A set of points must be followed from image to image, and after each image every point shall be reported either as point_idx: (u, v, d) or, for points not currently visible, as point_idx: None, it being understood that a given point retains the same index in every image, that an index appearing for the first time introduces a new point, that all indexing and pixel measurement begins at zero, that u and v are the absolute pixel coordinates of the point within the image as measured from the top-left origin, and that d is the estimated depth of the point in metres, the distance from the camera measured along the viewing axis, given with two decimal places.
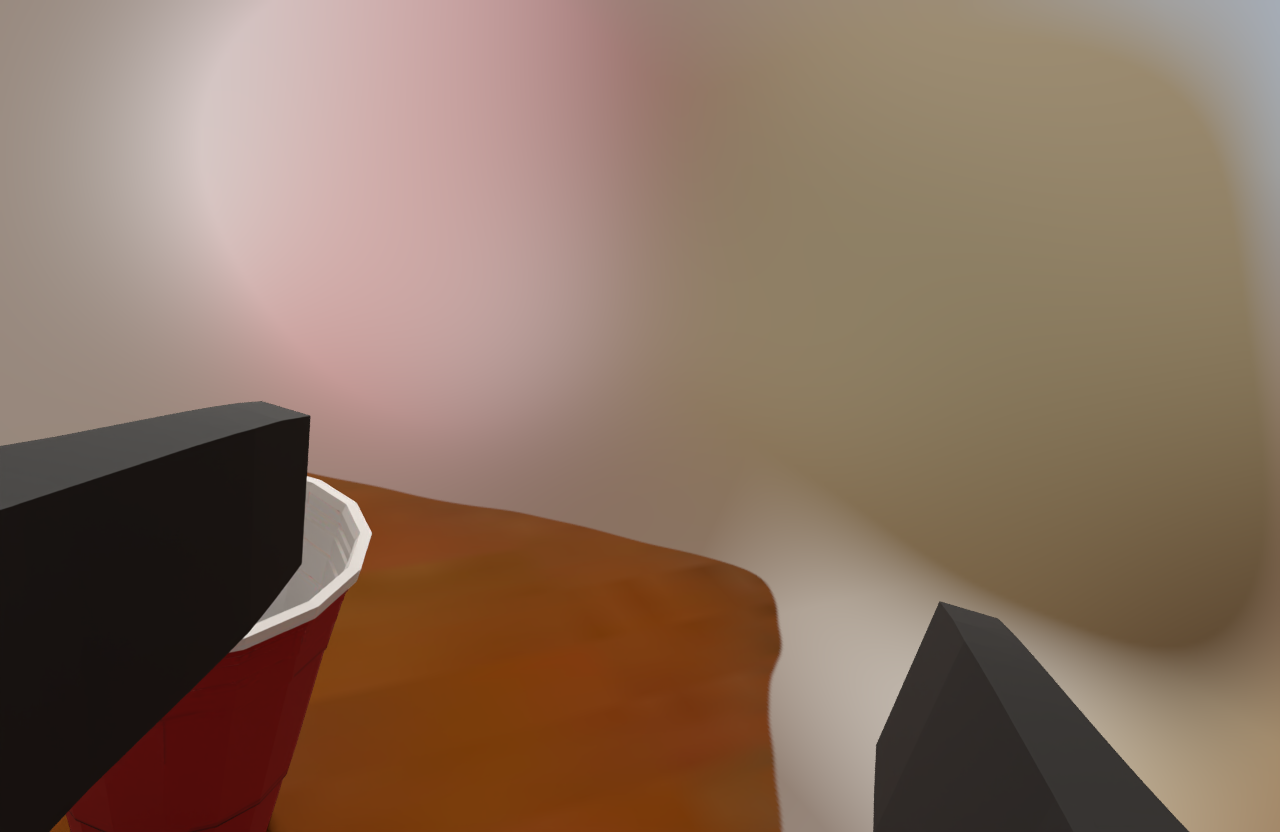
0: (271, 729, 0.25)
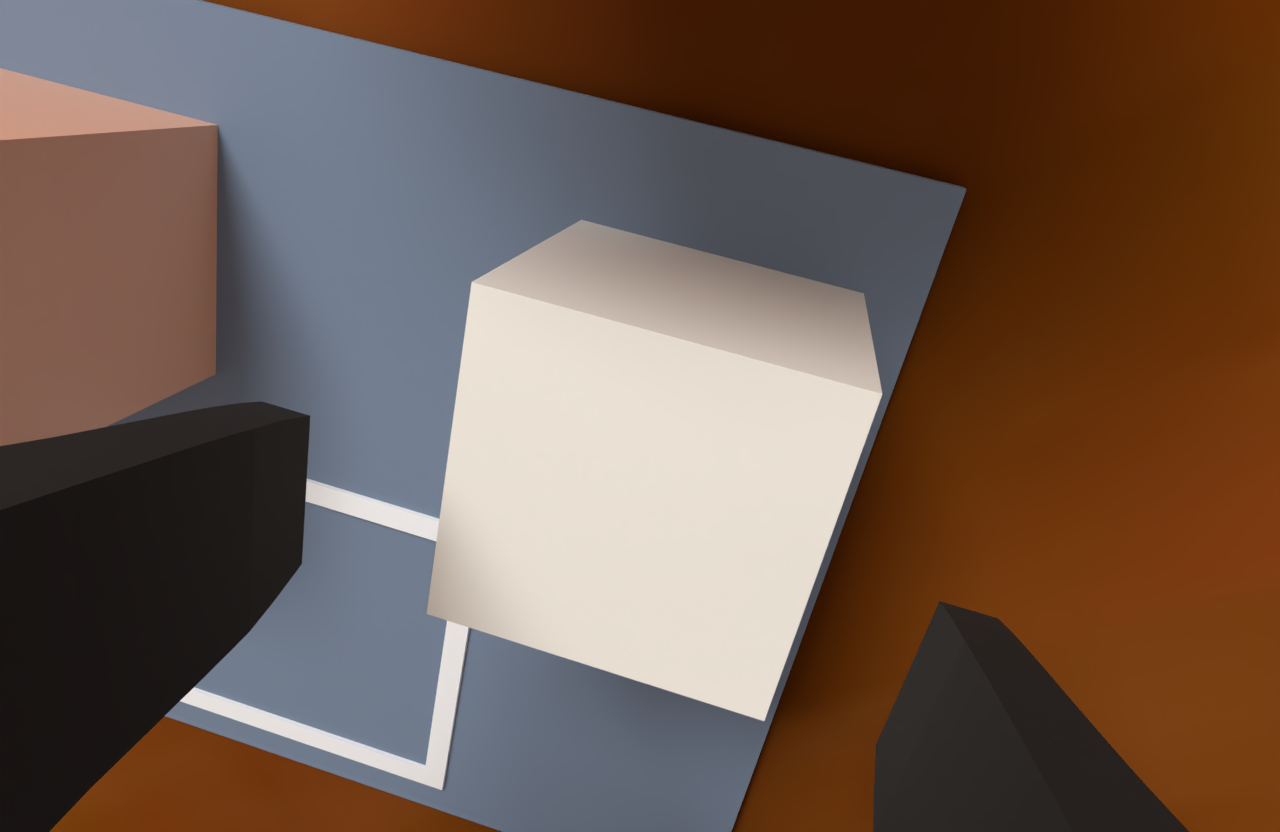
0: None
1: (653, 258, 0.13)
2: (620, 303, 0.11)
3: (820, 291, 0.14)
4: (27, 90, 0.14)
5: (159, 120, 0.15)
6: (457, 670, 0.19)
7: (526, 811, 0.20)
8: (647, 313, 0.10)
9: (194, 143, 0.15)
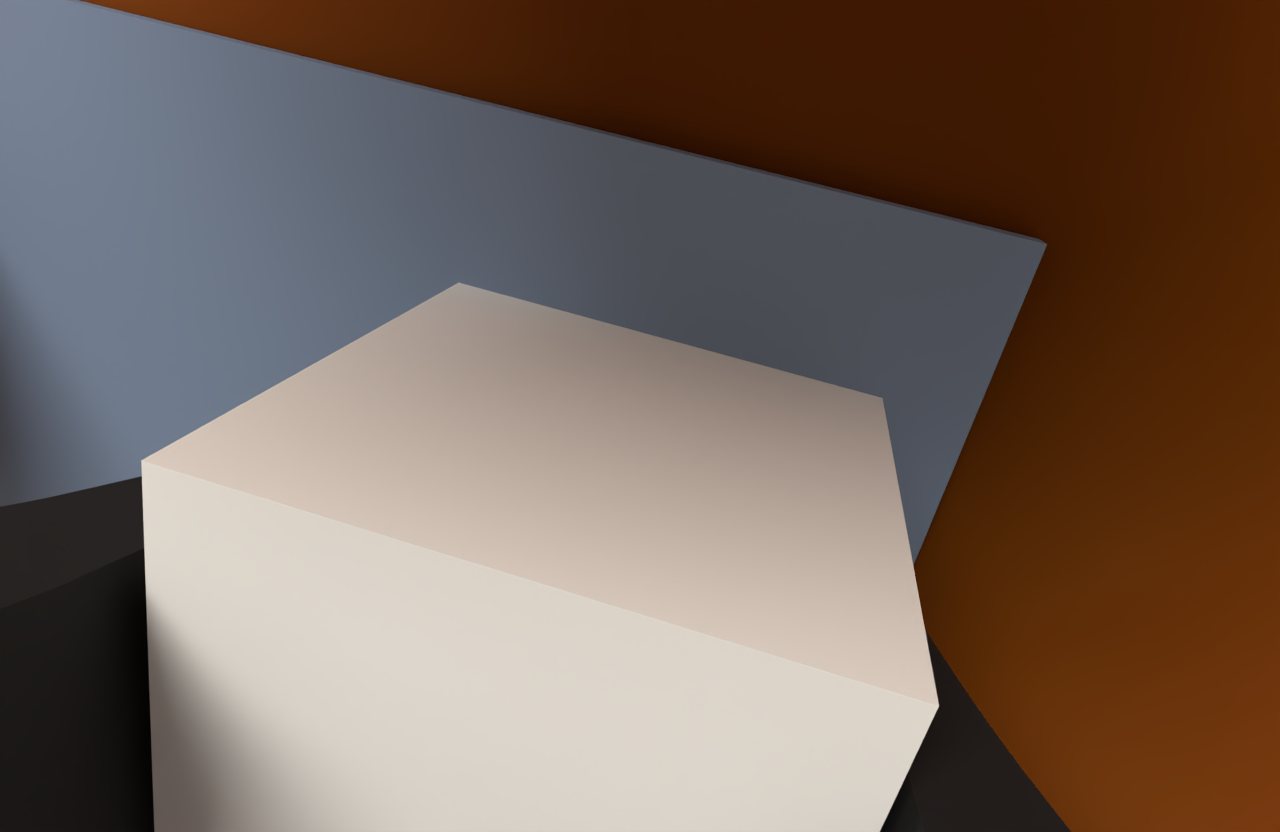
0: None
1: (551, 355, 0.08)
2: (445, 485, 0.06)
3: (816, 402, 0.09)
4: None
5: None
6: None
7: None
8: (490, 505, 0.06)
9: None
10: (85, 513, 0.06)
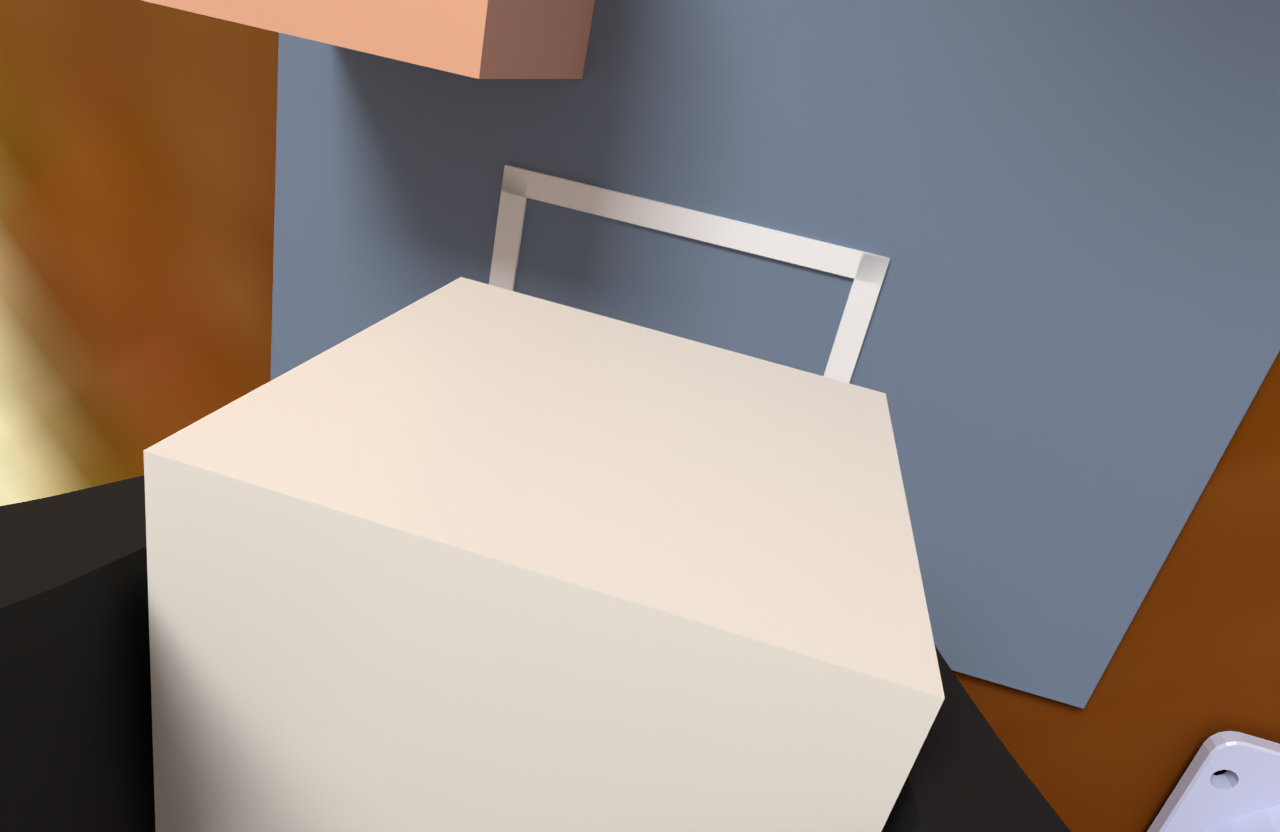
0: None
1: (554, 349, 0.08)
2: (449, 477, 0.06)
3: (819, 397, 0.09)
4: None
5: None
6: None
7: None
8: (494, 497, 0.06)
9: None
10: (84, 513, 0.06)
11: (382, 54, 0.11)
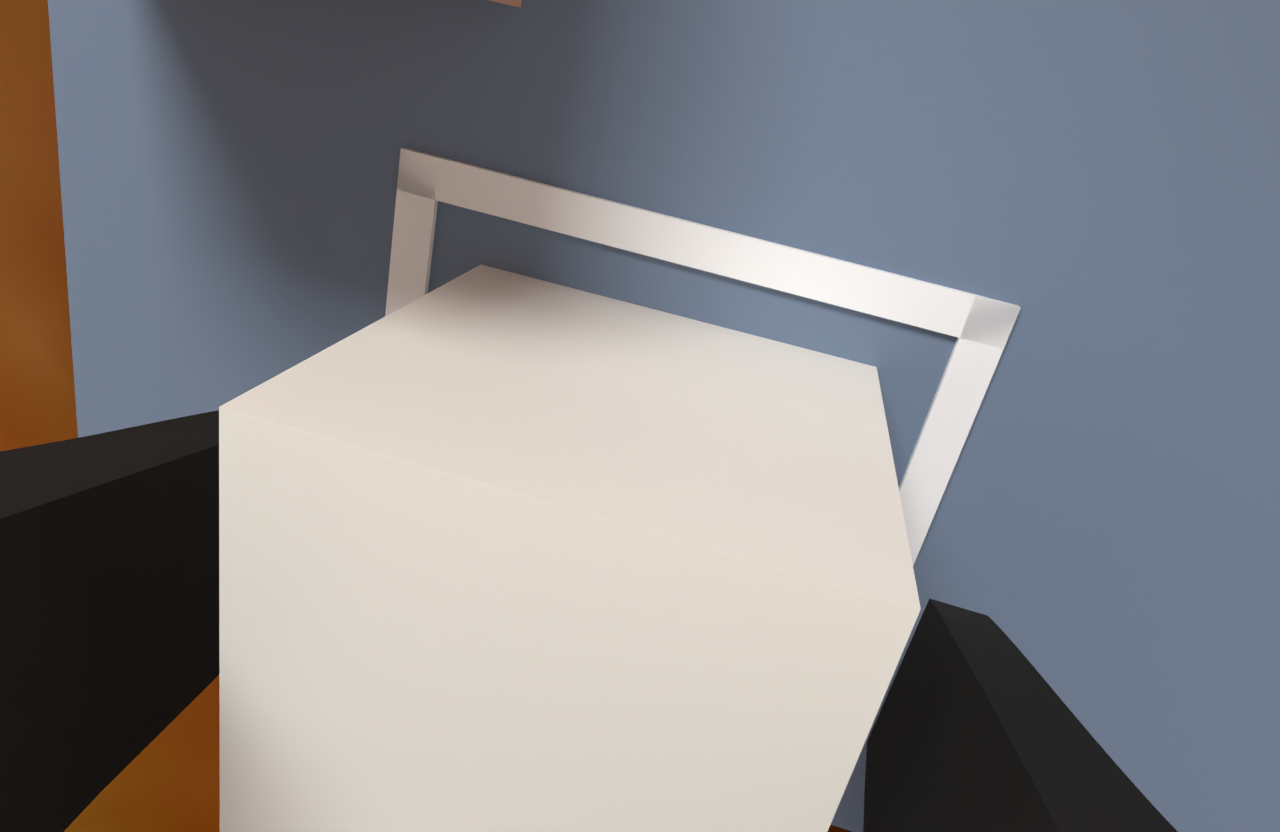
0: None
1: (570, 327, 0.09)
2: (484, 431, 0.06)
3: (814, 369, 0.09)
4: None
5: None
6: None
7: None
8: (525, 447, 0.06)
9: None
10: None
11: None
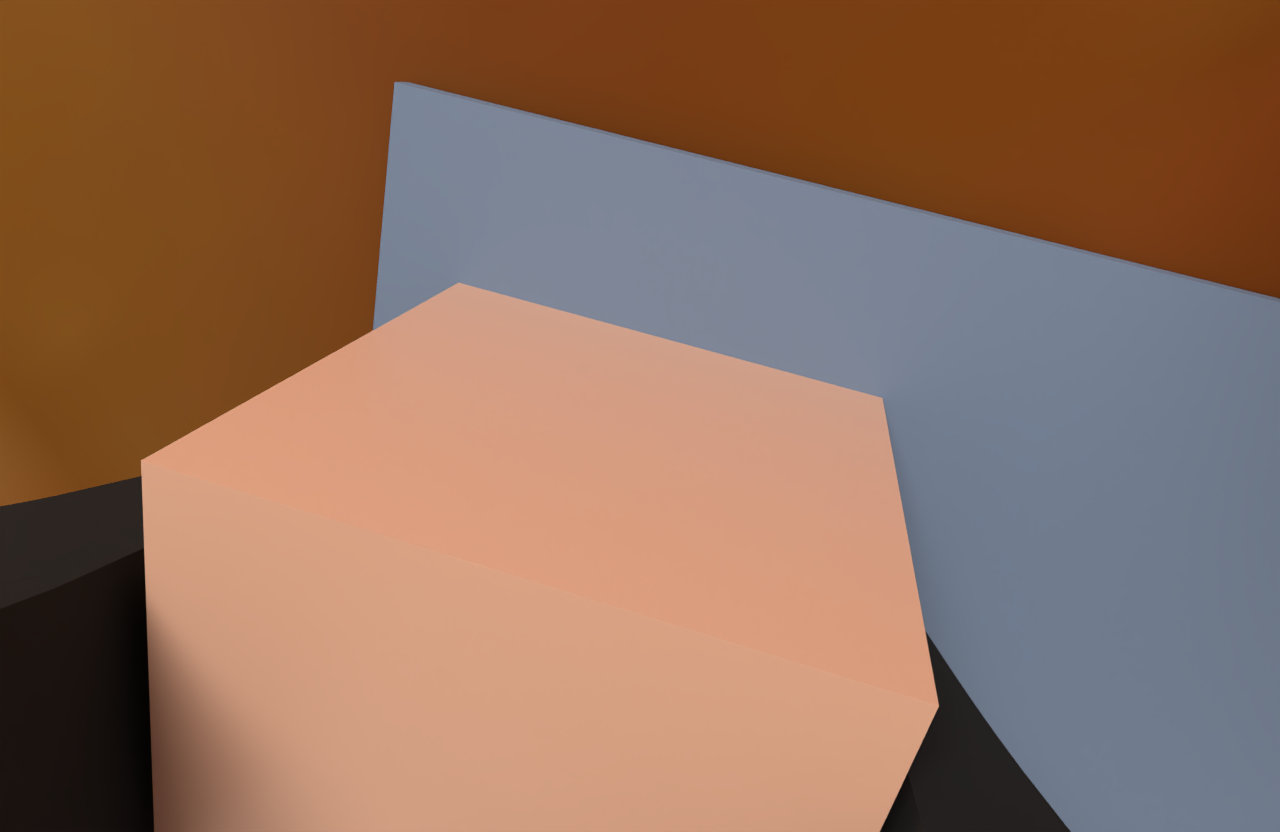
0: None
1: None
2: None
3: None
4: (621, 367, 0.08)
5: (841, 414, 0.09)
6: None
7: None
8: None
9: None
10: (85, 513, 0.06)
11: None
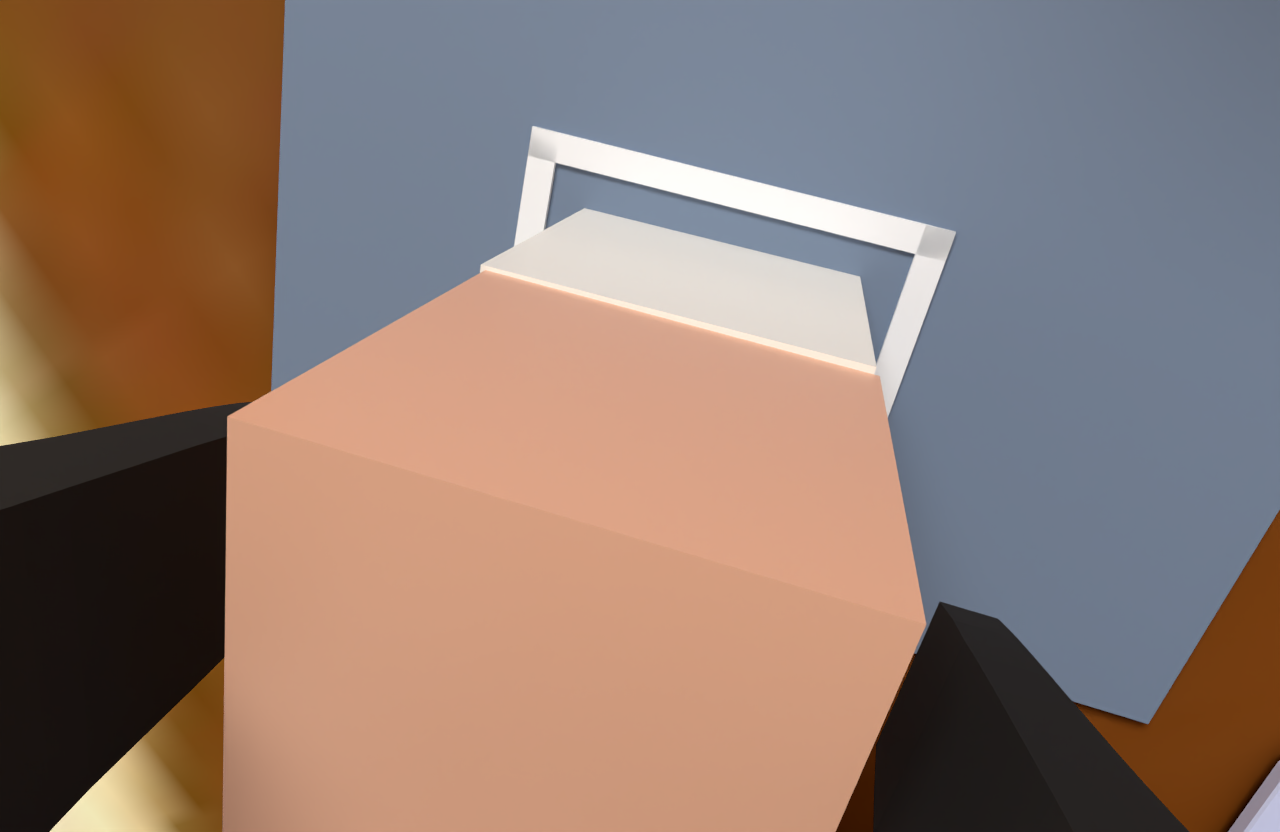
0: None
1: (655, 243, 0.14)
2: (625, 285, 0.11)
3: (817, 274, 0.14)
4: (639, 345, 0.09)
5: (841, 389, 0.09)
6: None
7: (928, 616, 0.17)
8: (650, 293, 0.11)
9: None
10: None
11: None
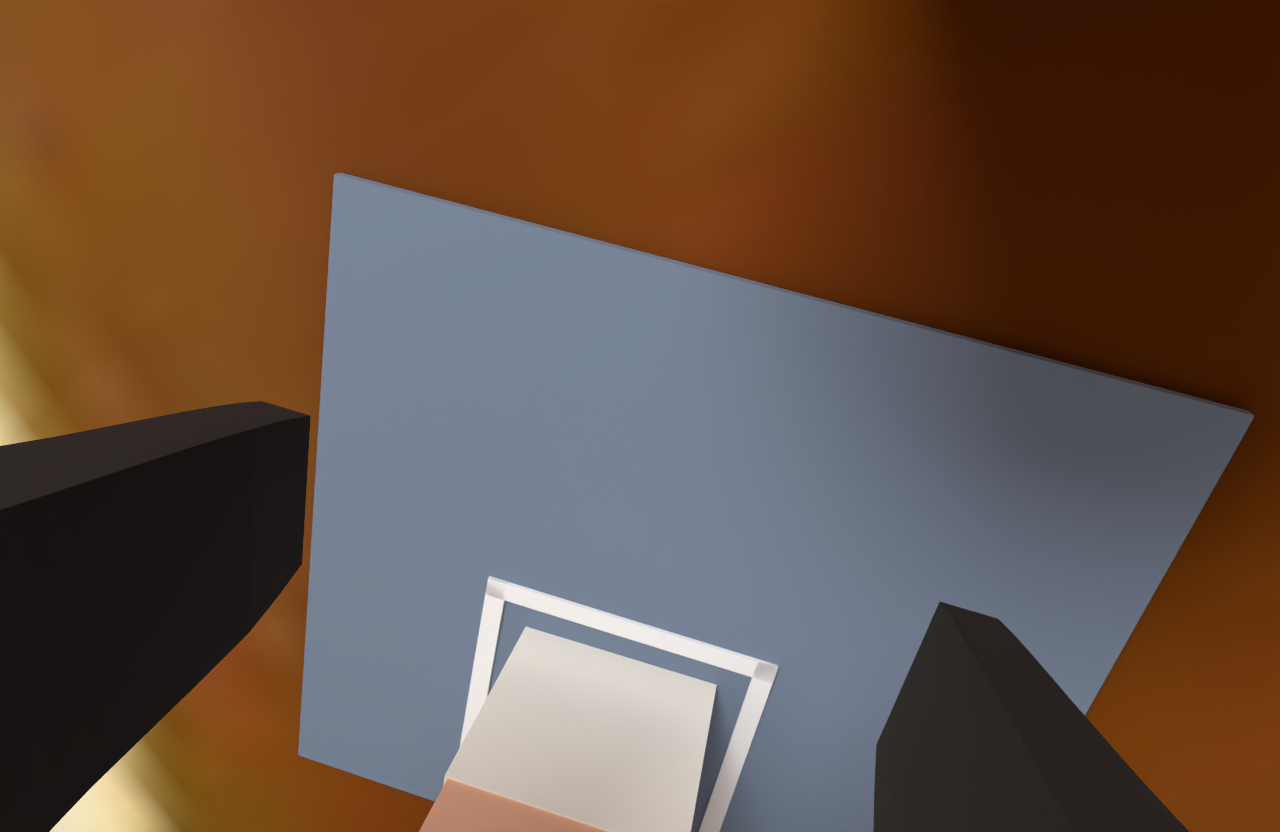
0: None
1: (569, 682, 0.20)
2: (537, 774, 0.17)
3: (683, 694, 0.20)
4: None
5: None
6: (735, 776, 0.22)
7: None
8: (552, 782, 0.17)
9: None
10: None
11: None
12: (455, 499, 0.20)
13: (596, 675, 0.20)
